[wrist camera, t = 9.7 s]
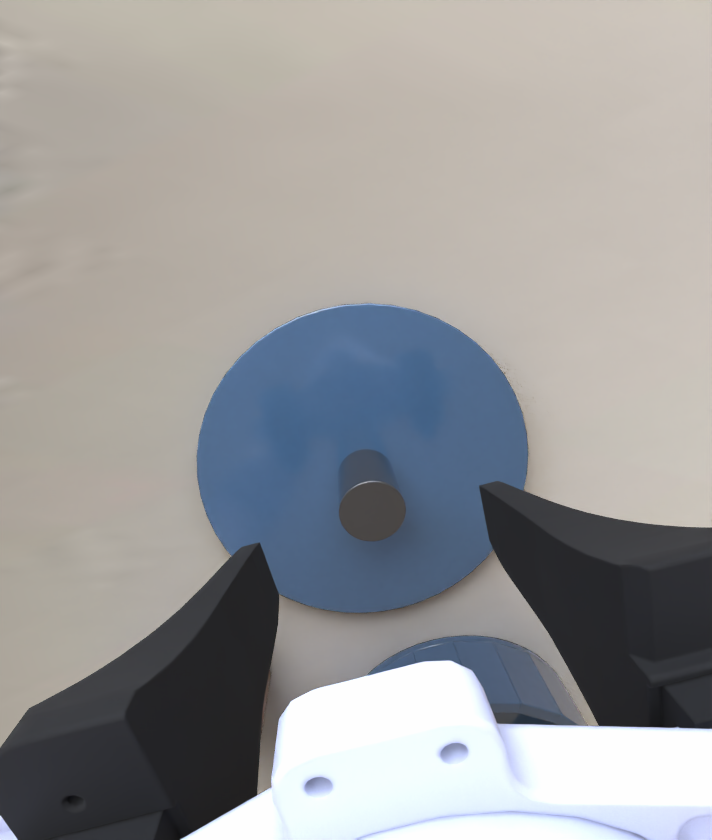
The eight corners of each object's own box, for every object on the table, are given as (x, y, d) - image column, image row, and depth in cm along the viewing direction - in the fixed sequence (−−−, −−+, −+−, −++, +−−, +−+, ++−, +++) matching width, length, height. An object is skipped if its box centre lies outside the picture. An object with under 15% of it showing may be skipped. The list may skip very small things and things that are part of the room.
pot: (369, 834, 26) (375, 925, 22) (309, 670, 22) (304, 745, 19) (580, 783, 26) (622, 866, 22) (554, 608, 22) (600, 672, 18)
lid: (261, 627, 21) (244, 708, 17) (153, 353, 17) (97, 371, 13) (537, 557, 21) (587, 622, 17) (491, 262, 17) (542, 252, 13)
